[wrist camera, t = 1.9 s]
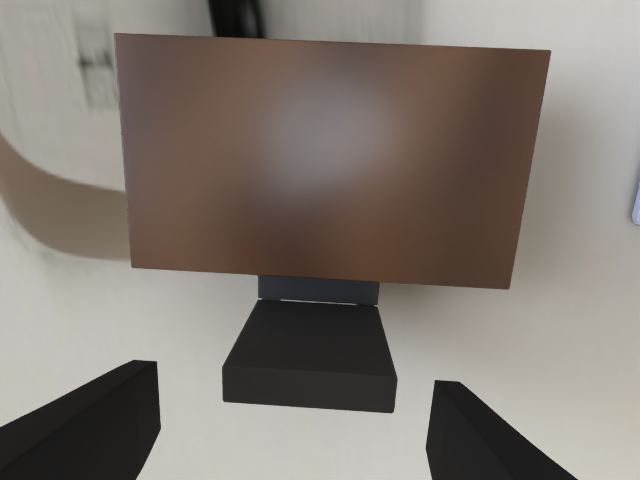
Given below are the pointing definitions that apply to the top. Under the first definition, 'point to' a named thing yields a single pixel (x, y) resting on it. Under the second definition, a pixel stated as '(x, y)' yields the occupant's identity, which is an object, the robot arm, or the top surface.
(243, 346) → the chair
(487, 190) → the brown toy table
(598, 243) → the top surface
